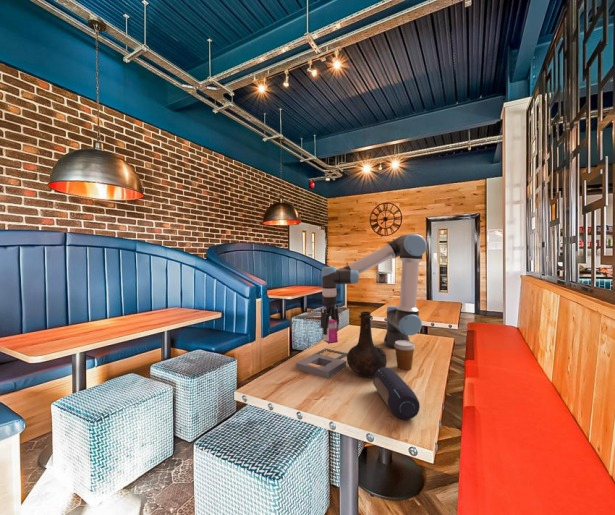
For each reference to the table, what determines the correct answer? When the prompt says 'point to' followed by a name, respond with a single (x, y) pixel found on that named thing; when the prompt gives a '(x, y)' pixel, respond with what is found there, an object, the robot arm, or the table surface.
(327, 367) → the socket plate
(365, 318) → the glass bottle
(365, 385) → the table surface
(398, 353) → the disposable coffee cup
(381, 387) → the portable speaker
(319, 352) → the flat grey square frame
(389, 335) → the robot arm
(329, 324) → the supplement box
